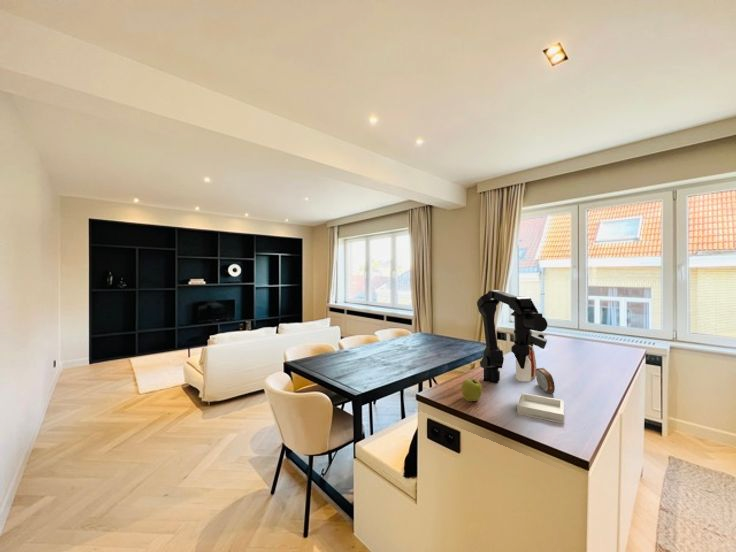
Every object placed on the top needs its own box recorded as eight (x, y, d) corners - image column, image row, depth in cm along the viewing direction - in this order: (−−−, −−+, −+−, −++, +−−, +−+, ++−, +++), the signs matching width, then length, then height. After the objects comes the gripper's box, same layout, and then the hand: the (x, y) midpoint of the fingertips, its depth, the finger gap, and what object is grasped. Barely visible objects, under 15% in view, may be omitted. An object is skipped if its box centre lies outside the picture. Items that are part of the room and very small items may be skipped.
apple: (454, 396, 123) (460, 371, 124) (469, 398, 126) (474, 375, 127) (468, 403, 115) (474, 377, 117) (483, 406, 118) (489, 380, 120)
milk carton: (536, 373, 153) (536, 334, 153) (535, 378, 145) (534, 337, 145) (516, 370, 158) (516, 332, 158) (514, 375, 150) (514, 335, 150)
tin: (555, 396, 124) (555, 376, 124) (547, 396, 124) (546, 375, 124) (542, 383, 138) (541, 365, 139) (534, 383, 139) (534, 365, 139)
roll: (517, 347, 126) (532, 349, 122) (518, 376, 125) (533, 378, 122) (513, 349, 121) (528, 351, 117) (514, 379, 121) (529, 382, 117)
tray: (517, 413, 108) (517, 405, 108) (521, 400, 120) (521, 392, 120) (563, 423, 101) (563, 414, 101) (563, 408, 113) (563, 400, 113)
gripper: (544, 332, 109) (545, 376, 109) (546, 326, 125) (547, 364, 125) (510, 330, 115) (511, 371, 115) (516, 324, 131) (517, 360, 131)
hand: (523, 366), depth 121 cm, fingers closed on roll, 6 cm apart
